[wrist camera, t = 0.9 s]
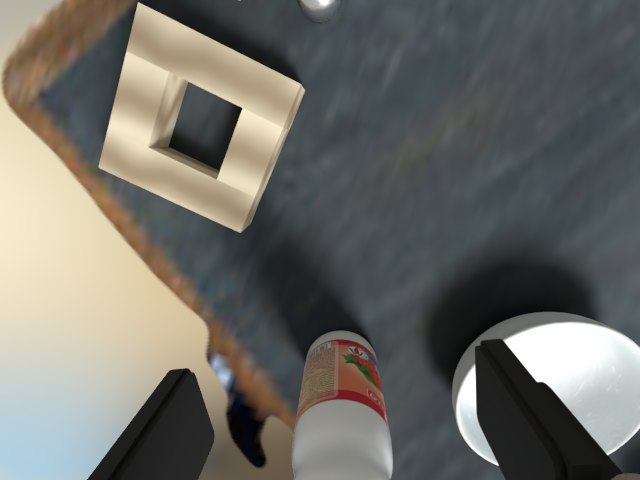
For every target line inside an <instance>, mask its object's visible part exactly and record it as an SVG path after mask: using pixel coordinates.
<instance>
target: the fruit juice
mask: <svg viewBox="0 0 640 480" xmlns="http://www.w3.org/2000/svg"><path fill="white" fill-rule="evenodd" d="M292 466H293V471H294V475H295V476H294V479H293V480H390V478H391V474H392V468H393V456H392V445H391V438H390V432H389V427H388V422H387V416H386V410H385V404H384V398H383V392H382V386H381V380H380V374H379V369H378V363H377V358H376V355H375V352H374V350H373V348H372V347H371V345H370V344H369V343H368V342H367V341H366V340H365V339H364V338H363V337H361V336H360V335H358V334H356V333H353V332H349V331H332V332H328V333H326V334H324V335H322V336H320V337H319V338H318V339H316V340H315V341H314V343H313V344H312V345H311V347H310V349H309V351H308V354H307V357H306V362H305V368H304V375H303V381H302V387H301V394H300V400H299V406H298V413H297V419H296V425H295V430H294V437H293V447H292Z"/></svg>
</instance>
